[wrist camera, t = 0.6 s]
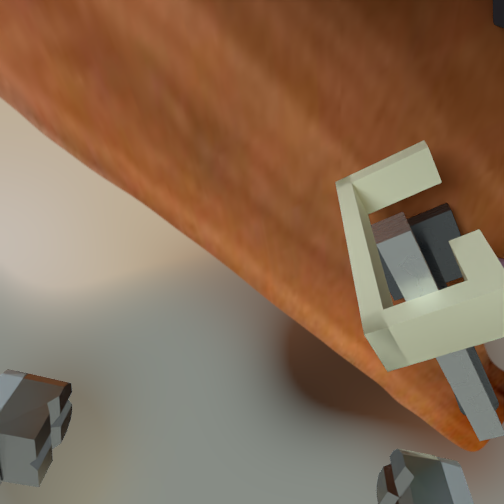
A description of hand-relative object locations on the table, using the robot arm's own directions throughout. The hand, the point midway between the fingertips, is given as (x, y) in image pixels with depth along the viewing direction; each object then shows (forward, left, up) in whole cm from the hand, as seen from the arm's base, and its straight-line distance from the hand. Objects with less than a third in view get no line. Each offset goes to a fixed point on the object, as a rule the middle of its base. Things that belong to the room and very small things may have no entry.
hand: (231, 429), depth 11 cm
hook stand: (+20, +4, -38) cm, 44 cm away
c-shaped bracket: (+14, +5, -33) cm, 37 cm away
